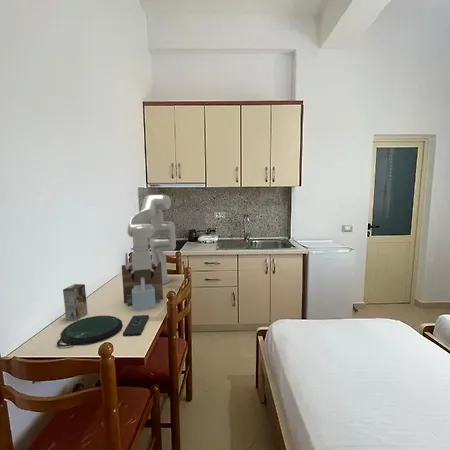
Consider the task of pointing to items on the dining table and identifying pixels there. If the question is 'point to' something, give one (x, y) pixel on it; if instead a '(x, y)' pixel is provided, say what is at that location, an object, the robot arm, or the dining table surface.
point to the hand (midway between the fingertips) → (142, 279)
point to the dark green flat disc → (90, 330)
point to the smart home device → (136, 325)
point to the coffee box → (75, 301)
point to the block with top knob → (143, 296)
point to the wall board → (138, 274)
